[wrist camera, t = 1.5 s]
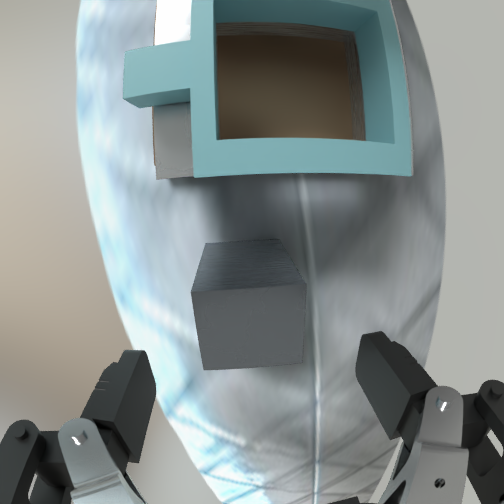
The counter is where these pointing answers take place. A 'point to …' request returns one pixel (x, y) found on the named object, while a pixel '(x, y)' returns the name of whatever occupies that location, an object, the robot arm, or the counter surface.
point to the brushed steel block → (248, 305)
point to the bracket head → (281, 149)
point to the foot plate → (282, 88)
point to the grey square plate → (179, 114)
